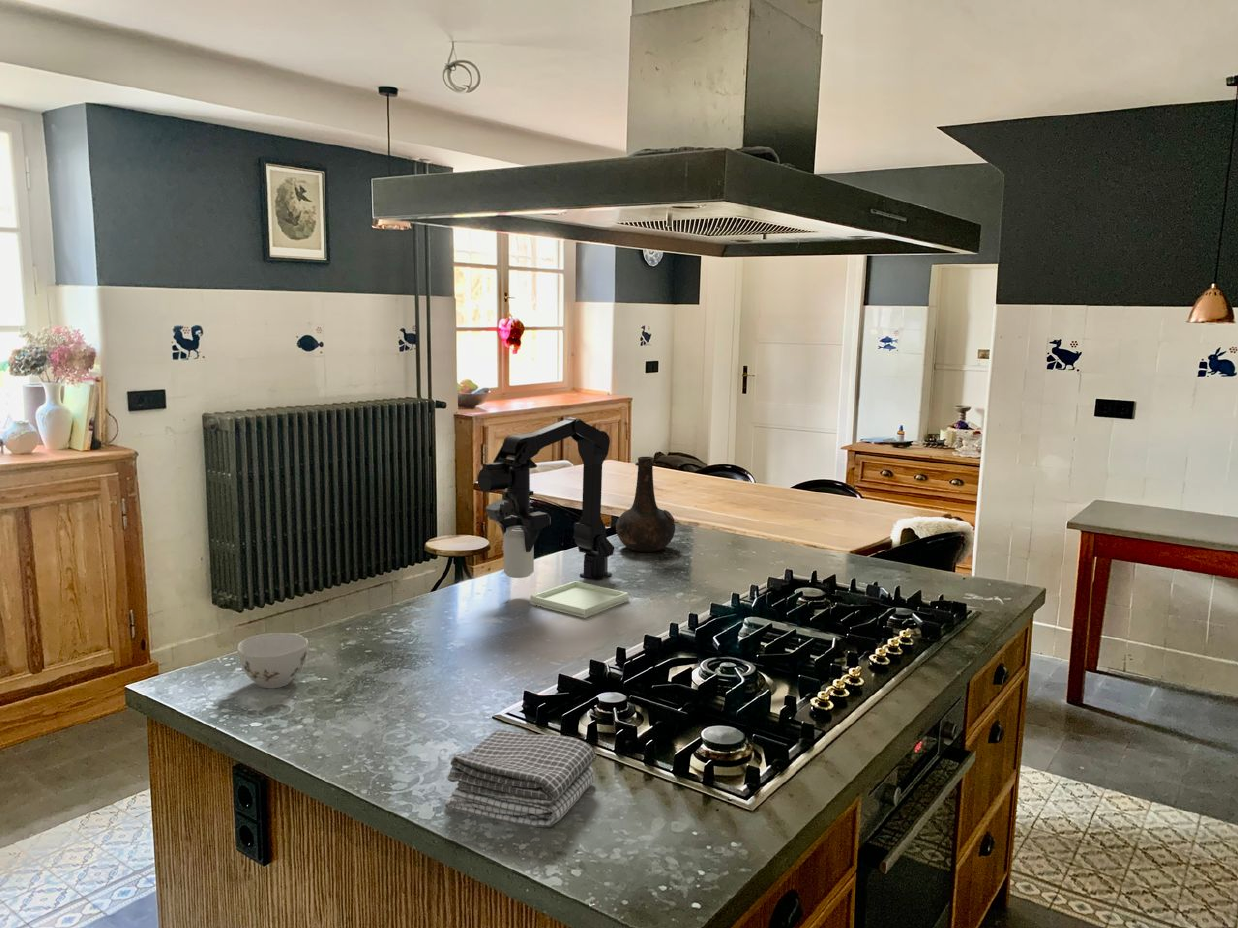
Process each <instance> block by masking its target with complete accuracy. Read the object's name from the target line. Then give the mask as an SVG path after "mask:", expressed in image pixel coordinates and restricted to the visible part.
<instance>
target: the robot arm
mask: <svg viewBox="0 0 1238 928" xmlns="http://www.w3.org/2000/svg"><path fill="white" fill-rule="evenodd" d="M569 437H570V439H571V440H573V441H575V442H576V443H577V450H578V451H577V452H578V454H579V456H580V458H581V460H582V462H583V463H582V464H583V469H582V470H583V473H582V475H583V476H582V502H581V503H582V505H581V507H582V509H581V510H582V511H581V512H582V513H581V517H580V519H579V521H578V522H574V523H573V536H572V538H574V543H575V544H576V546H577V549H578V551H579V553H583V554H584V557H583V558H584V560H583V572H581V573H579V577H584V578H586V579H587V578H589V579H592V580H596V581H598V580H602V579H604V578H608V577H611V576H613V573H612V572H608V571H609V570H608V564H609V562H608V560H609V559H608V558H610V556H613V555H614V552H615V546H614V544H612V542H610V541H609V539H608V537H607V536H608V535H607V527H606V526H605V523H604V522H603V519H602V515H601V514H602V485H603V483H602V482H603V481H602V480H603V464H604V462H605V460H606V459H607V457H608V455H609V451H610V442H611V439H610V435H608V433H607V432H606V431H605V430H600V429H598V428H596V427H594V426H592V425H590V424H588V423H586V422H585V421H583V420H582V419H581V418H578V417H566V418H564V419H562V420H561V421H558V422H556V423H553V424H551V425H548V426H545V427H543V428H540V429H538V430H535V431H533V432H529V433H528V432H527V433H518V434H512V435H511V434H510V435H507V436H506V437H505V438H504V439H503V442H502V445H501V447H500V449H499V451H498V452H497V454H496V456H495V458H494V460H493V461H492V462H491V463H488V462H485V463H482V468H481V469H480V470H479V472H478V474H477V476H476V477H477V484H478V488H479V489H480V490H481V492H483V493H489V492H497V491H502V490H503V491H502V493H501V498H500V499H496V500H495V501H494V502H491V503H490V504H488V505H487V506H486V507H485V509H486V510H485V511H486V512H487V514H486V515H487V517H488V519H489V520H490V521H491V520H492V521H494V522H496V524H498V525H499V528H500V530H501V531H502V536H503V535H504V533H505V532H506V528H508V527H511V526H517V520H521V524H522V525H519V526H520V528H521V529H522V530H523V531H524V535H525V547H526V552H530V551H531V549H532V547H533V545H534V546H535V543H536V541H537V539H538V537H539V535H540V533H541V532H542V531H543V528H546V526H550V525H551V524H552V523H551V521H552V520H551V515H549V513H547V512H542V511H534V509H535V508H534V507H533V506H531V496H534V490H531V483H530V482H531V473H530V472H531V469H535V468H537V467H538V465H537V464H536V463H535V462H534V461H533V460H532V458H534V457H535V456H537V455H538V454H539V452H540V451H541V450H542V449H544V448H546V447H548V446H550V445H553V444H555V443H558V442H560V441H563V440H565V439H567V438H569Z"/></svg>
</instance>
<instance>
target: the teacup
mask: <svg viewBox="0 0 1238 928" xmlns="http://www.w3.org/2000/svg"><path fill="white" fill-rule="evenodd" d="M308 648H309V640H308V638H307V637H303V636H302V635H301V634H297V633H294V632H293V633H292V632H288V633H287V632H286V633H285V632H284V633H283V632H280V633H279V632H277V633H276V632H275V633H274V632H273V633H271V632H269V633H262V634H256V635H254V636H250V637H247V638H245V639H243V640H242V641H240V642H239V643H238V644H237V655H238V658H239V662H240V665H241V668H242V669H243V671H244V673H245V674H246V675H247V677H248V678H249V679H250V680H251V681H253V682H254V683H255V684H256V685H257V686H258V687H260V688H263V689H279V688H282V687H286V686H287V685H289V684H290V682H291V681H292V680H293V679H294V678H295V677H296V676H297V674H298V673H299V672H301V669H302V667H303V665H304V664H305V661H306V658H307V654H308Z"/></svg>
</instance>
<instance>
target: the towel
mask: <svg viewBox="0 0 1238 928" xmlns="http://www.w3.org/2000/svg"><path fill="white" fill-rule="evenodd" d="M596 758H597V754H596V751H595V750H594V748H593V747H592V745H591V744H590V743H588V742H585V741H583V740H581V739H579V738H577V737H572V736H567V735H566V736H565V735H559V734H531V733H523V732H514V731H507V730H504V729H502V730H501V729H498V730H495V731H494V732H493V733H491V734H490V735H489V736H487V737H486V738H485V739H484V740H483V741H482V742H481V743H479V744H477V746H476V747H474V749H472V750H471V751H470V752H469V753H464V752H463V753H458V754H454V755H453V756H452V758H451V760H450V765H451V767H450V768H449V769H450V770H449V774H448V775H447V777H446V780H448V782H451V783H456V782H458V783H457V786H455V788H454V789H453V790H452V791H451V792H450V794H449V795H448V797H447V799H446V800H445V803H444V805H443V806H444V809H446V810H447V811H450V812H451V811H452V812H455V813H456V812H457V813H461V814H462V813H463V814H466V815H467V814H468V815H472V816H477V817H482V818H486V819H490V820H494V821H495V820H496V821H500V822H506V823H510V824H511V823H512V824H515V825H521V826H522V825H523V826H528V827H533V828H549V827H552V826H554V825H555V824H556V823H557V822H559V821H560V820H561V819H562V817H564V816H565V815H566V813H568V811H569V810H570V809H571V808H572V807H573V806H574V805H575V804H576V802H577V801H578V800H580V798H581V796H582V795H583V794H584V793H585V792H586V790H588V788H590V786H591V785H592V784H593V783H594V782H595V780H596V777H595V774H594V770H593V767H592V766H591V765H592V764H593V762H594V761H595V760H596Z"/></svg>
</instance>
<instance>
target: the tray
mask: <svg viewBox="0 0 1238 928" xmlns="http://www.w3.org/2000/svg"><path fill="white" fill-rule="evenodd" d="M529 600H530V605H533V606H536V605H537V607H540V606H541V608H545V609H550V610H552V611H556V612H560V613H563V614H564V613H565V614H568V615H571V616H576V617H581V618H583V619H584V618H585V619H586V618H588V617H590V616H594V615H595V614H598V613H600V612H603V611H606V610H609V609H611V608H614V607H616V606H619V605H621V604H624V603H627V602H628V601H629V592H626V591H621V590H617V589H613V588H608V587H604V586H600V585H597V584H596V585H595V584H592V583H586V582H581V581H579V580H578V581H577V580H574V581H571V582H567V583H565V584H562V585H559V586H555V587H553V588H550V589H546V590H544V591H541V592H539V593H535V594H532V595H530V599H529Z"/></svg>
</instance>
